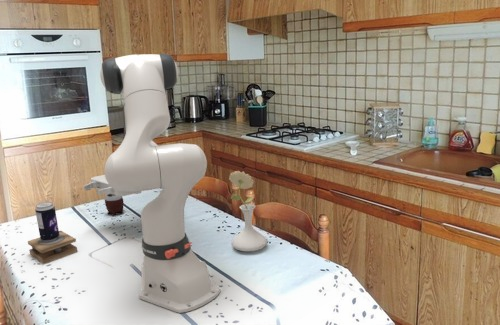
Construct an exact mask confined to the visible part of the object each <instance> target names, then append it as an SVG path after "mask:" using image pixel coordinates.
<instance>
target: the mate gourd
mask: <svg viewBox="0 0 500 325" xmlns="http://www.w3.org/2000/svg"><path fill="white" fill-rule="evenodd" d="M104 204H105V207H106V208H105V209H106V210H107V214H108V215H112V217H116V215H123V214H124V213H125V212H124V198H123V196H117V195H114V194H106V196H105V197H104Z"/></svg>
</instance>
